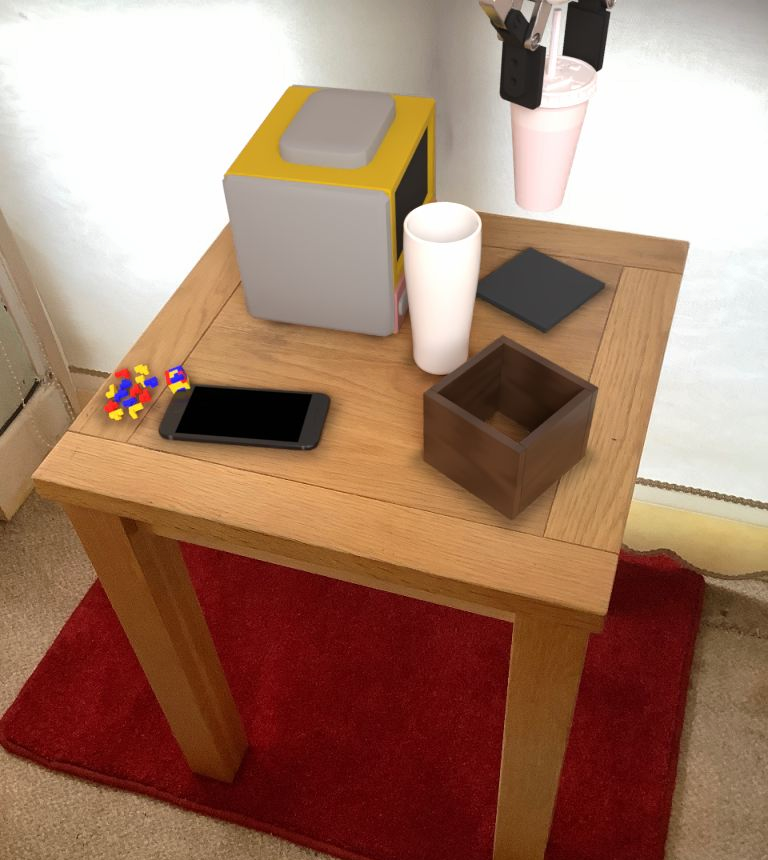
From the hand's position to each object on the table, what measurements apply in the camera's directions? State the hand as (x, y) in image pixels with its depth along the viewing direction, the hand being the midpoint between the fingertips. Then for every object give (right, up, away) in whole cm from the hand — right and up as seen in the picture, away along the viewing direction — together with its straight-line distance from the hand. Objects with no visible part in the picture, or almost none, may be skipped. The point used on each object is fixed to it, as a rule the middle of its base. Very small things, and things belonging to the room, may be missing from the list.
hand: (551, 82), depth 61 cm
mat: (+4, -7, +30) cm, 31 cm away
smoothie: (0, -6, +7) cm, 9 cm away
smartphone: (-25, -22, +19) cm, 38 cm away
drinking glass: (-6, -16, +23) cm, 29 cm away
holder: (-1, -26, +15) cm, 30 cm away
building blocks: (-35, -18, +20) cm, 44 cm away
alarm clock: (-16, -7, +31) cm, 36 cm away
